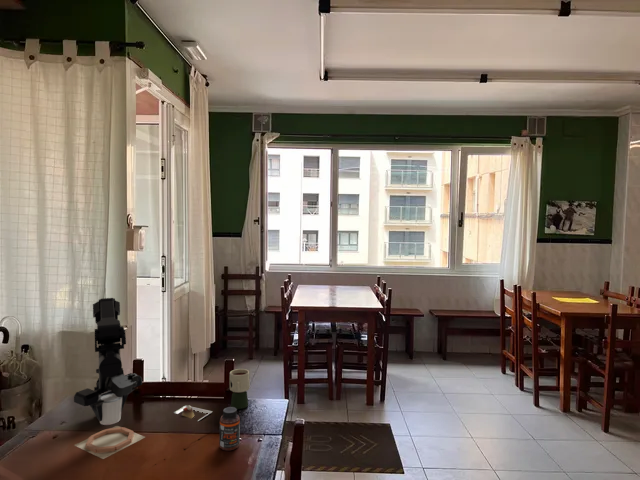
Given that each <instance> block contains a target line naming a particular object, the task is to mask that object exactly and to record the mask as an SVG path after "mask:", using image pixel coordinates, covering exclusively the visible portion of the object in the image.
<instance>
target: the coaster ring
mask: <svg viewBox="0 0 640 480" xmlns="http://www.w3.org/2000/svg"><path fill="white" fill-rule="evenodd" d="M119 427H120V428H113V427H110V428H106V429H103V430H101V431H98V432H96V433H94V434H92V435H90V436H89V437H88V438H87V439H88V441H87V443H86V449H88V450H91V451H93V452H95V453H96V452H97V453H102V452H110V451H115V450H118V449H120V448H122V447H124V446H126V445H128V444H130V443H131V442H132V439H133V436H134V433H135V432H134V430H132V429H129V428H127V427H122V426H119ZM118 432H122V433H124V434H127V435H129V436H128V439H127V440H125V441H123V442H121V443H119V444H117V445H115V446H106V447H97V446H95V445H93V444H92V443H93V441H94V439H96V438H99V437H101V436H103V435H105V434H109V433H118Z"/></svg>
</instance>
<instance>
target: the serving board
mask: <svg viewBox="0 0 640 480" xmlns="http://www.w3.org/2000/svg"><path fill="white" fill-rule="evenodd" d="M120 427H121V426H119V425H115V426H113V427H112V428H120ZM128 436H129V435H127V434H124V433H122V432H118V433H109V434H105V435H103V436H101V437H99V438H96V439H94V441H93V443H92V444H93V445H95V446H97V447H106V446H115V445H117V444H119V443H121V442H123V441H125V440H127V439H128ZM145 438H146V436H144V435H141V434H139V433H136V432H134V436H133V439H132V442H131V443H130V444H128V445H126V446H124V447H122V448H120V449H118V450H115V451H110V452H102V453H97V452H96V453H95V452H93V451H91V450H88V449H86V443H87V441H88V439H89V438H86V439H85V440H82V441H80V442H78V443H75V444H74V445H73V446H74V447H77V448H79V449H81V450H82V451H85V452H87V453H89V454H92V455H93V456H95V457H97V458H100V459H102V460H104V459H106V458H108V457H110V456H113V455H114V454H116V453H118V452H120V451H123V450H124V449H126V448H128V447H129V446H132V445H133V444H136V443H138V442H140V441H141V440H143V439H145Z"/></svg>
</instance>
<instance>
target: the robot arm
mask: <svg viewBox="0 0 640 480" xmlns="http://www.w3.org/2000/svg"><path fill="white" fill-rule="evenodd" d="M119 316H121V303H120V302H119V301H117V300H116V298H114V297H105V298H104V297H103V298H100V299H98V300H97V301H96V302H95V303H93V304H92V318H95V324H96V328H94V353H97V352H98V368H96V369H95V372H96V374H98V378H97V380H96V382H95V383H96V386H95V387H94V386H93V389H91V388H84V389H82V390H79V391H75V394H74V395H73V403H75V404H77V405H81V406H83V407H90V408H91V411H93V413H94V416H95V417H96V419H97V420H98V421H99V422H100V421H102V404H103V402H104V400H101V396H103V395H107V394H112V393H114V394H115V395H116V396H117V397H122V408H121V413H122V412H123V410H124V409H123V408H124V406H125V404H126V401H127V398H128V396H129V394H131V393H133V391H135V388H137V387H140V386H142V385H143V378H142V376H141V375H139V374H137V373H132V372H130V373H127V374H125V373H124V368H123V363H122V358H121V350H123V349H125V345H127V339H126V338H127V337H126V329H125V328H124V326H122V325H121V320H119Z"/></svg>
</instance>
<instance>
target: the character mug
mask: <svg viewBox="0 0 640 480" xmlns="http://www.w3.org/2000/svg"><path fill="white" fill-rule="evenodd" d="M229 390H230V391H231V392H232V394H231V399H230V400H231V401H230V407H234V408H236V409H237V410H240V409H241V410H242V409H246V408H247V407H248V406H249V399H248V392H247V391H249V390H250V370H248V369H246V368H236V369H233V370H231V371H230V372H229Z"/></svg>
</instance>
